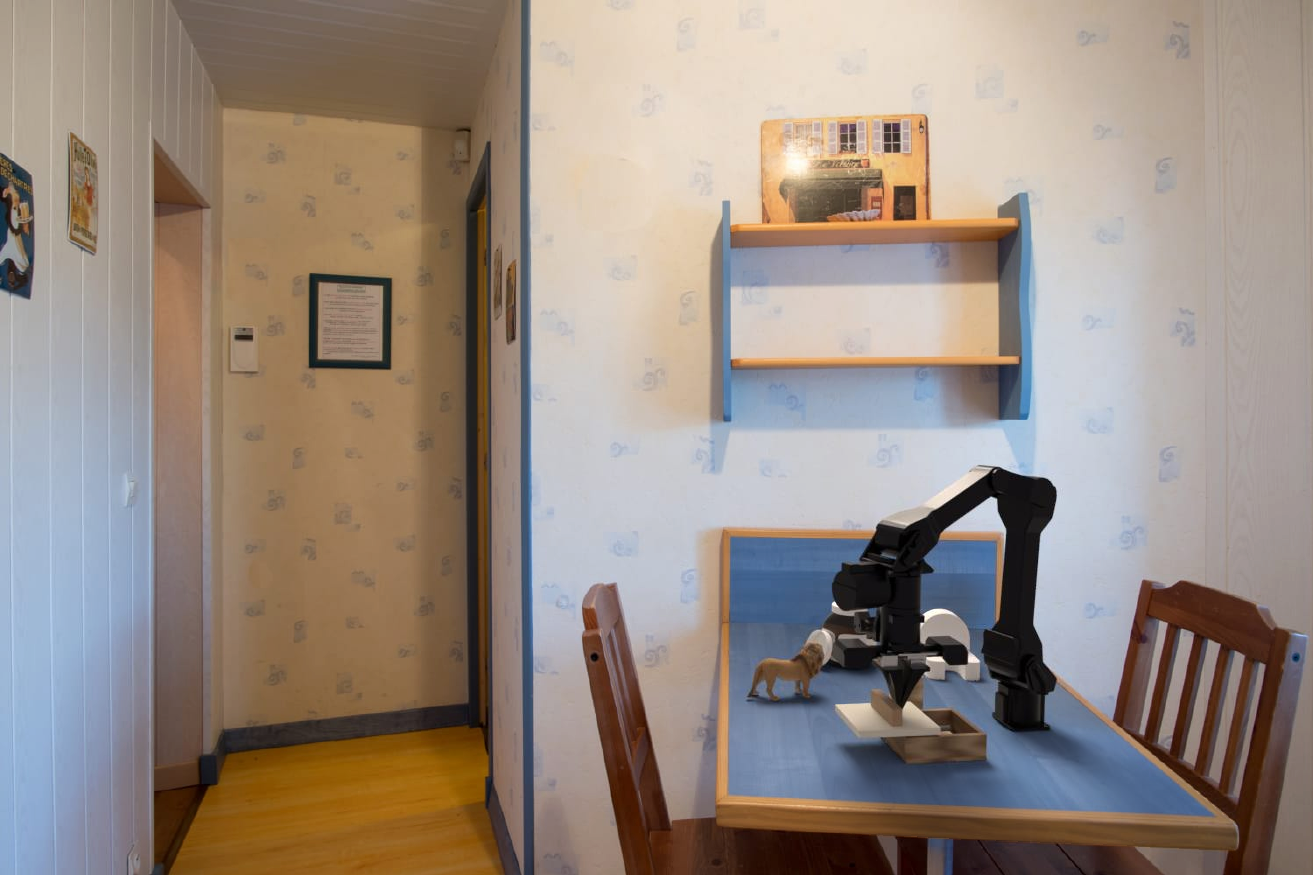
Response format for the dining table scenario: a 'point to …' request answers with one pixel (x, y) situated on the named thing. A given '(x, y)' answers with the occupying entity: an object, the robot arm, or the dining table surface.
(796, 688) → the lion figurine
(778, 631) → the dining table surface
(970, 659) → the u-slot stand
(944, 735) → the wooden box
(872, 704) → the lid
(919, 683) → the wooden block
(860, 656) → the robot arm
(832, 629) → the spread jar
